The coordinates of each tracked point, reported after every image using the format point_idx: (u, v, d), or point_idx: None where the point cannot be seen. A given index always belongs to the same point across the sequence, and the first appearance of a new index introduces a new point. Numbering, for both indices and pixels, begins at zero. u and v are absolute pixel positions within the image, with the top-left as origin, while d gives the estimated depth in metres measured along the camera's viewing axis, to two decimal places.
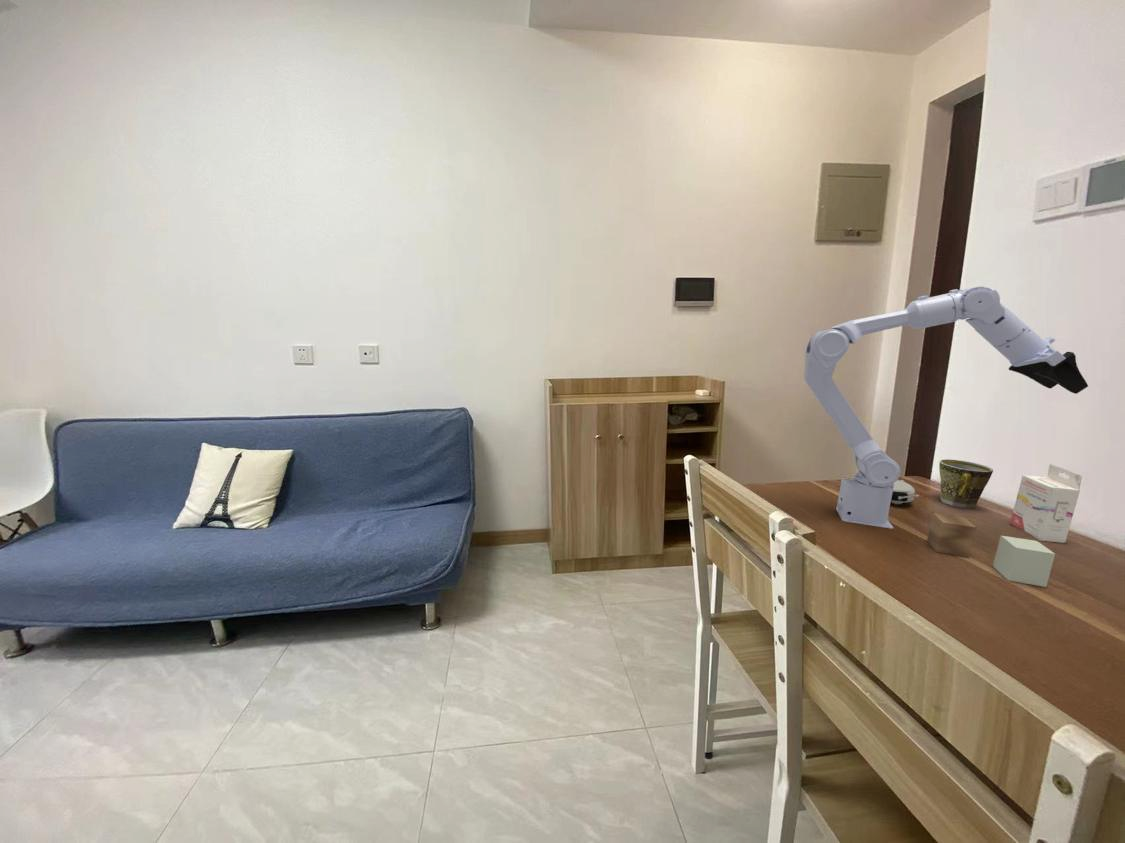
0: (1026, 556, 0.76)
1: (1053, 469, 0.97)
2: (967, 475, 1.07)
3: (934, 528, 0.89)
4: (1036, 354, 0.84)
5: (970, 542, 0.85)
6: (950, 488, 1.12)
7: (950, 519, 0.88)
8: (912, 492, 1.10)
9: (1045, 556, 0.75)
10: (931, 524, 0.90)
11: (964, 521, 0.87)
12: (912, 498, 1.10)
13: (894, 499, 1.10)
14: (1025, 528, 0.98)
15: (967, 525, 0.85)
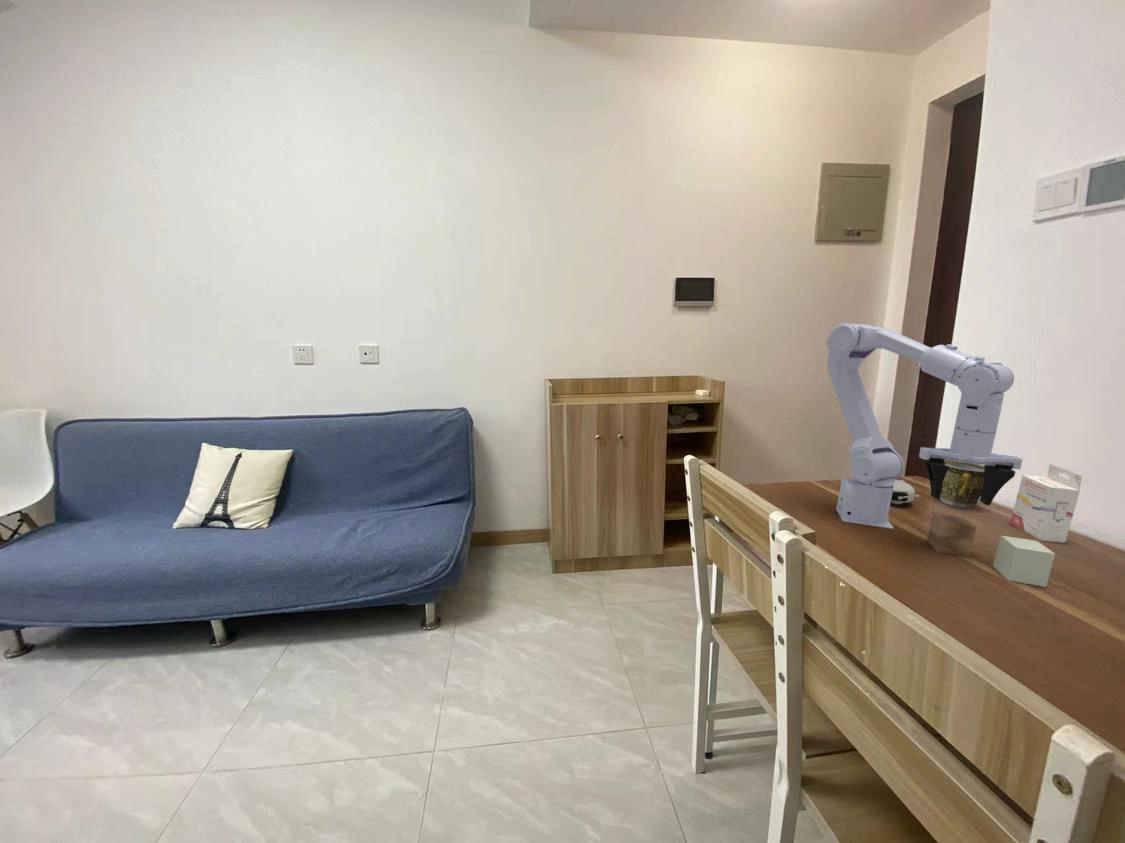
0: (1026, 556, 0.76)
1: (1053, 469, 0.97)
2: (967, 475, 1.07)
3: (934, 528, 0.89)
4: (949, 451, 0.86)
5: (970, 542, 0.85)
6: (950, 488, 1.12)
7: (950, 519, 0.88)
8: (912, 492, 1.10)
9: (1045, 556, 0.75)
10: (931, 524, 0.90)
11: (964, 521, 0.87)
12: (912, 498, 1.10)
13: (894, 499, 1.10)
14: (1025, 528, 0.98)
15: (967, 525, 0.85)
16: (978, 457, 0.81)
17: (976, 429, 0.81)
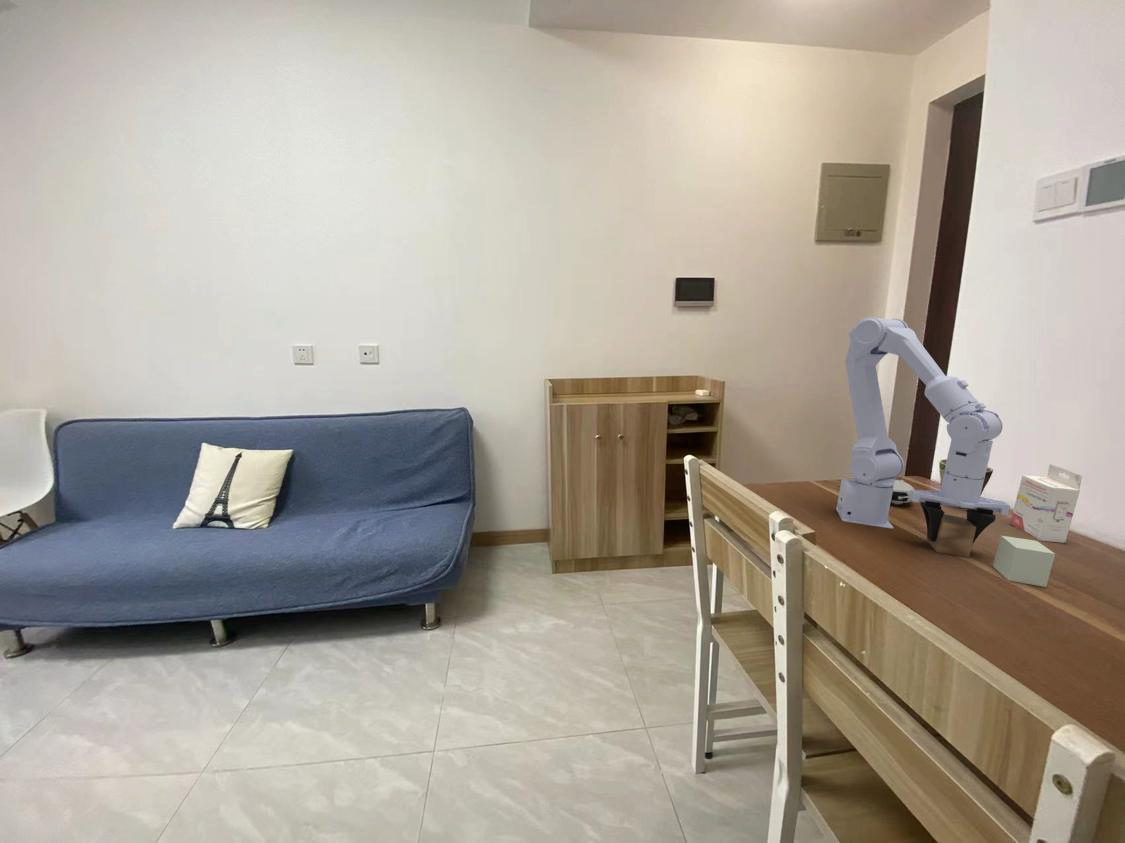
0: (1026, 556, 0.76)
1: (1053, 469, 0.97)
2: None
3: None
4: (938, 494, 0.88)
5: (970, 542, 0.85)
6: None
7: (950, 519, 0.88)
8: None
9: (1045, 556, 0.75)
10: None
11: (964, 521, 0.87)
12: None
13: (894, 499, 1.10)
14: (1025, 528, 0.98)
15: (967, 525, 0.85)
16: (966, 503, 0.83)
17: (965, 475, 0.83)
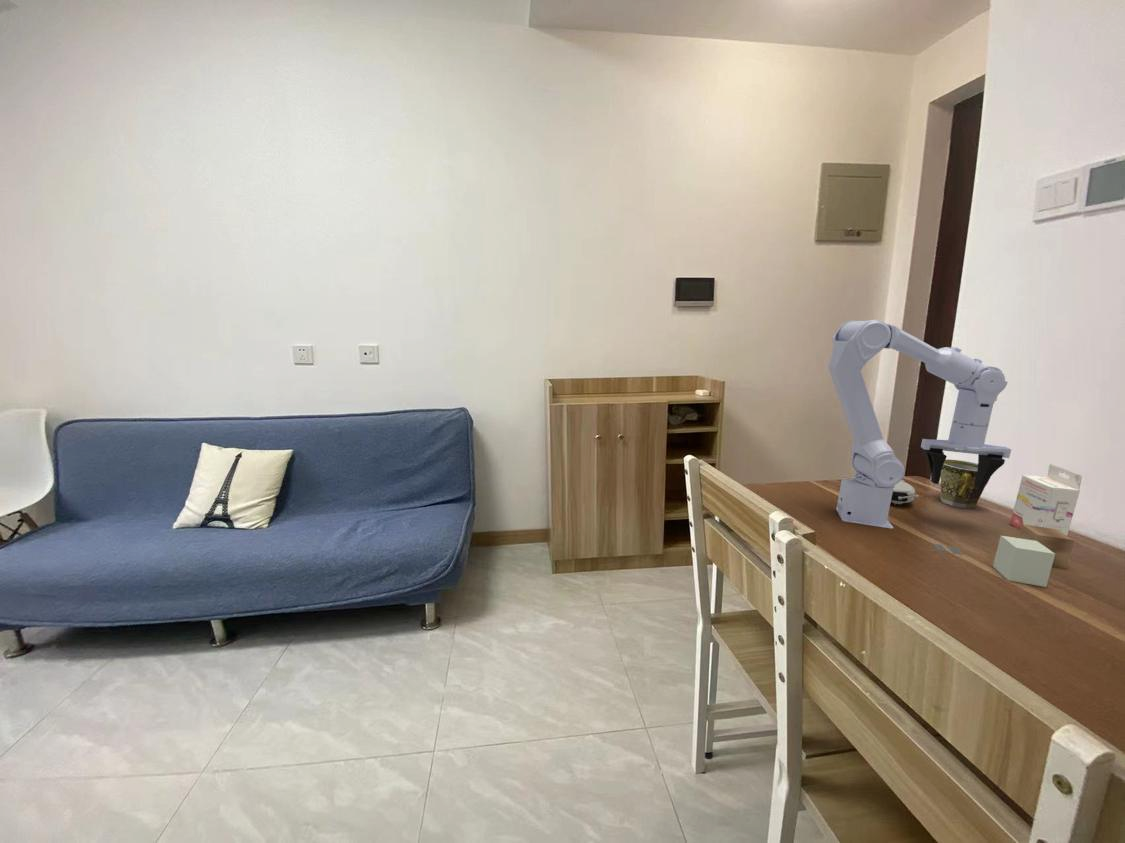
0: (1026, 556, 0.76)
1: (1053, 469, 0.97)
2: (967, 475, 1.07)
3: None
4: (947, 442, 0.98)
5: (1067, 555, 0.82)
6: (950, 488, 1.12)
7: (1043, 531, 0.85)
8: (912, 492, 1.10)
9: (1045, 556, 0.75)
10: (1020, 536, 0.88)
11: (1058, 533, 0.84)
12: (912, 498, 1.10)
13: (894, 499, 1.10)
14: None
15: (1064, 538, 0.82)
16: (972, 447, 0.93)
17: None
